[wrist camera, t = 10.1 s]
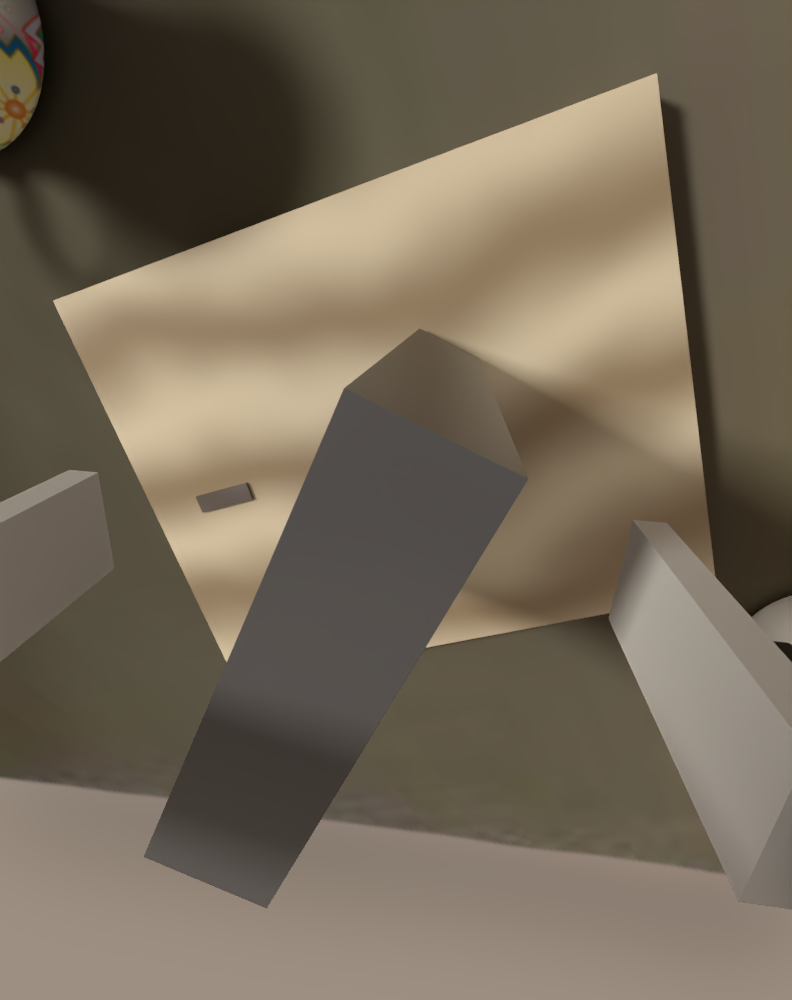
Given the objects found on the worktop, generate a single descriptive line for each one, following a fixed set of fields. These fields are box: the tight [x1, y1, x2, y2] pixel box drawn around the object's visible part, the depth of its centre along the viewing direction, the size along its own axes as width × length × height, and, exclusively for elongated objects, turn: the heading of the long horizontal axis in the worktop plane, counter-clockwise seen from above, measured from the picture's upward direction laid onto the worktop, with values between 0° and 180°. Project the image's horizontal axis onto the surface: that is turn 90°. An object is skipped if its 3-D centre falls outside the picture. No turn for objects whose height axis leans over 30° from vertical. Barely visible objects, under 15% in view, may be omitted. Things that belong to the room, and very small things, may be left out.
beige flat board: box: [53, 73, 715, 662], centre depth 23 cm, size 20×24×2 cm
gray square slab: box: [144, 329, 528, 908], centre depth 16 cm, size 3×14×15 cm, turn 155°
